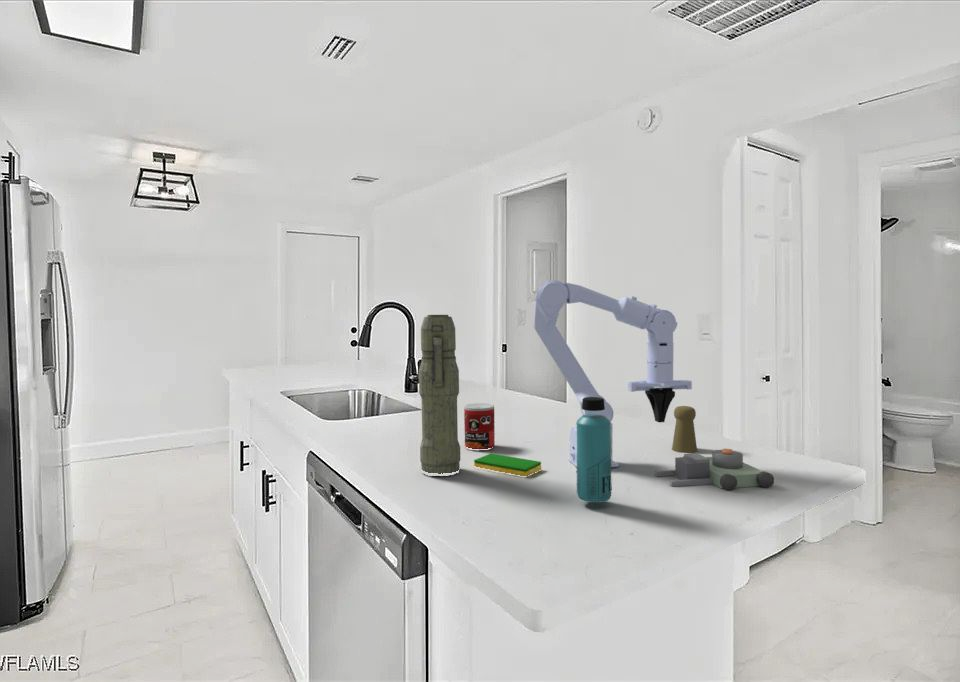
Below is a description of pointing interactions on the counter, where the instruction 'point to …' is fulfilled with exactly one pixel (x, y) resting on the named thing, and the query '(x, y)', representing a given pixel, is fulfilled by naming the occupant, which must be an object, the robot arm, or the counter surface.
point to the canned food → (479, 426)
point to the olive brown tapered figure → (684, 430)
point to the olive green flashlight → (439, 396)
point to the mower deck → (726, 472)
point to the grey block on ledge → (692, 466)
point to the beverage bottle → (593, 453)
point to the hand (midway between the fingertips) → (659, 421)
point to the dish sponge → (508, 464)
